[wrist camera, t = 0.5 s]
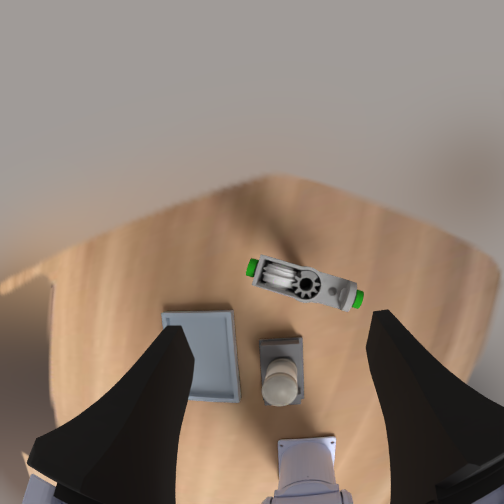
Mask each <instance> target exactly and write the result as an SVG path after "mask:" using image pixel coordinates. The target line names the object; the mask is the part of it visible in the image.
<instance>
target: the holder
mask: <svg viewBox="0 0 504 504" xmlns="http://www.w3.org/2000/svg"><path fill="white" fill-rule="evenodd" d="M259 348H260V362H261V376H262V386H263V383H264V381H265V377H266V372H267V368H268V365H269V364H270V362H271V361H272V360H274V359H276V358H279V357H286V358H289V359H291V360H292V361H293V362H294V363H295V364H296V366H297V386H298V392H297V396H296V398H295V400H294V401H293V402H291V403H290V404H288V405H294V404H301V399H304V372H303V341H302V337H292V338H274V339H259ZM263 400H264V402H265V405H271V404H269V403H268V402H267V401H266V400H265V399H264V398H263Z"/></svg>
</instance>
